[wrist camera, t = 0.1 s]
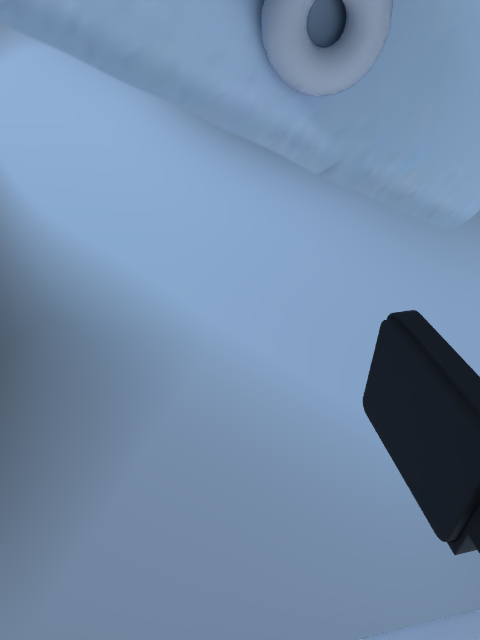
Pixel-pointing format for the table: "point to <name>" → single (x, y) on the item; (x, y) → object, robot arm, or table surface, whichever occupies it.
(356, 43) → the donut
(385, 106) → the table surface
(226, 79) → the table surface
